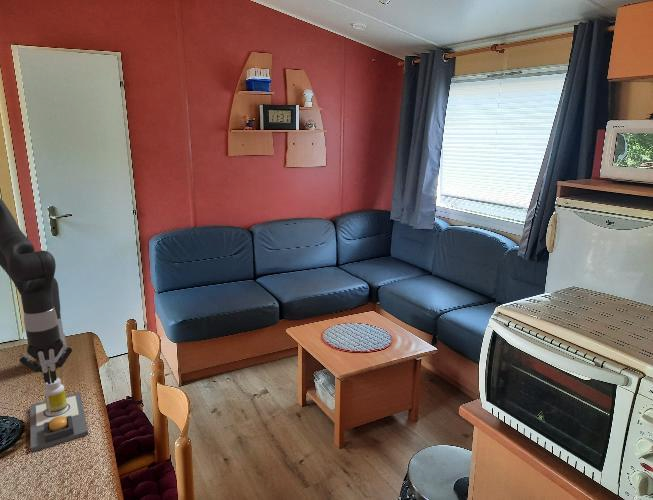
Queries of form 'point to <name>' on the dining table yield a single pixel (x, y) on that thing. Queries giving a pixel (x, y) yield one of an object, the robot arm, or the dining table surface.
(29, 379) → the dining table surface
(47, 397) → the supplement bottle
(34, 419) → the charcoal board
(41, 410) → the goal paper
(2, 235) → the robot arm
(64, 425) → the button
